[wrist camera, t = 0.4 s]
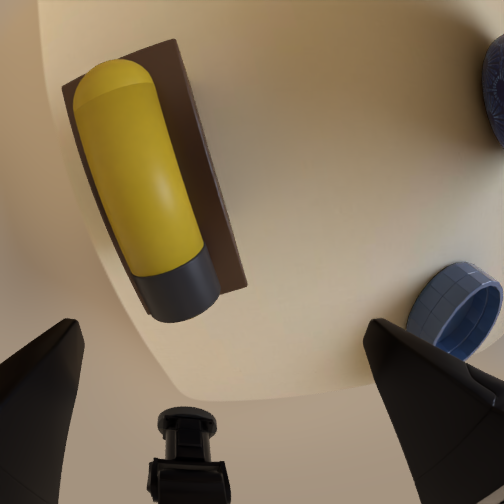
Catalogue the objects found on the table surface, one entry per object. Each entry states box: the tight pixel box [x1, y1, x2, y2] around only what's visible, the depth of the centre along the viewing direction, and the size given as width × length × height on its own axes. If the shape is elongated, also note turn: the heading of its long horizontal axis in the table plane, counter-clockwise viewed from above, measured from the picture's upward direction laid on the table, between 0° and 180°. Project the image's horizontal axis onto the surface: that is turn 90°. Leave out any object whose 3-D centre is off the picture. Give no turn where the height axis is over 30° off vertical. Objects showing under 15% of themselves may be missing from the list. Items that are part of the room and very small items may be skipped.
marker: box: [73, 59, 221, 323], centre depth 8 cm, size 9×3×3 cm, turn 14°
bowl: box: [406, 262, 503, 361], centre depth 26 cm, size 12×12×5 cm
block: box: [62, 39, 248, 315], centre depth 14 cm, size 10×4×9 cm, turn 14°
